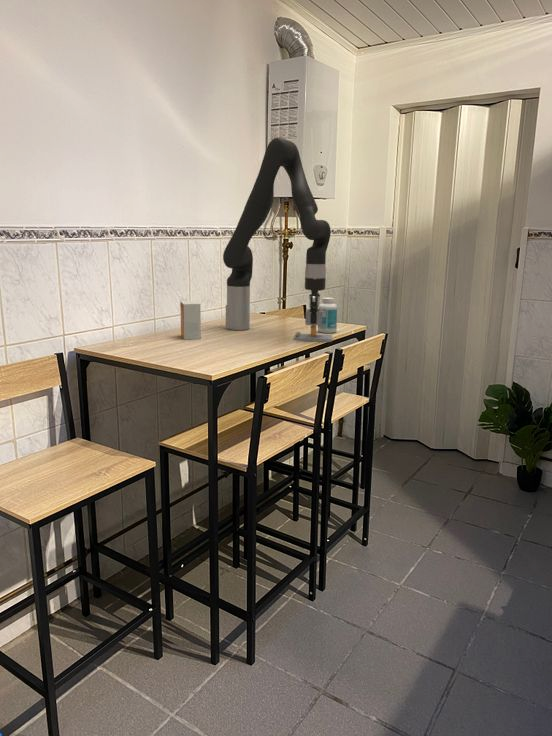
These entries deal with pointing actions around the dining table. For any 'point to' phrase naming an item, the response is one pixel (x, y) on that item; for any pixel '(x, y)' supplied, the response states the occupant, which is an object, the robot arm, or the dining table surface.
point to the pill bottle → (328, 316)
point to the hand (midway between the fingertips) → (313, 322)
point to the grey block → (319, 317)
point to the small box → (190, 320)
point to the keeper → (313, 336)
